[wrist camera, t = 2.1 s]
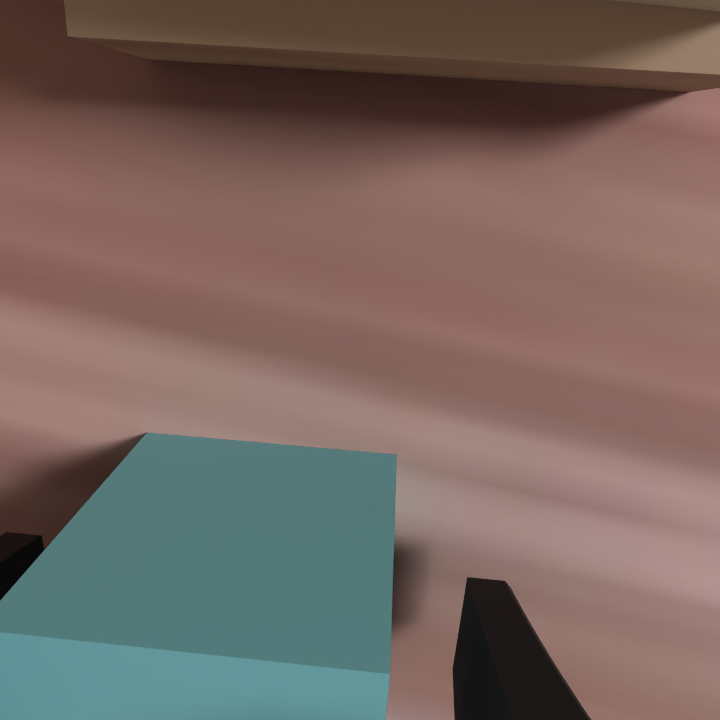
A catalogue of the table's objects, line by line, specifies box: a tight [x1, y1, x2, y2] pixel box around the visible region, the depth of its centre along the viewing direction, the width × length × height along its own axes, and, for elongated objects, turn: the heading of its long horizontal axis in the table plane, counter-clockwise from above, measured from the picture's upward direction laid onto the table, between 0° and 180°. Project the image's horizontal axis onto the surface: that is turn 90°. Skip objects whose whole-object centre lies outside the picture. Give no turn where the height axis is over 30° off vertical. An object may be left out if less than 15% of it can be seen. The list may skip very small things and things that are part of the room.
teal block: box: [0, 433, 397, 720], centre depth 9 cm, size 4×4×4 cm
